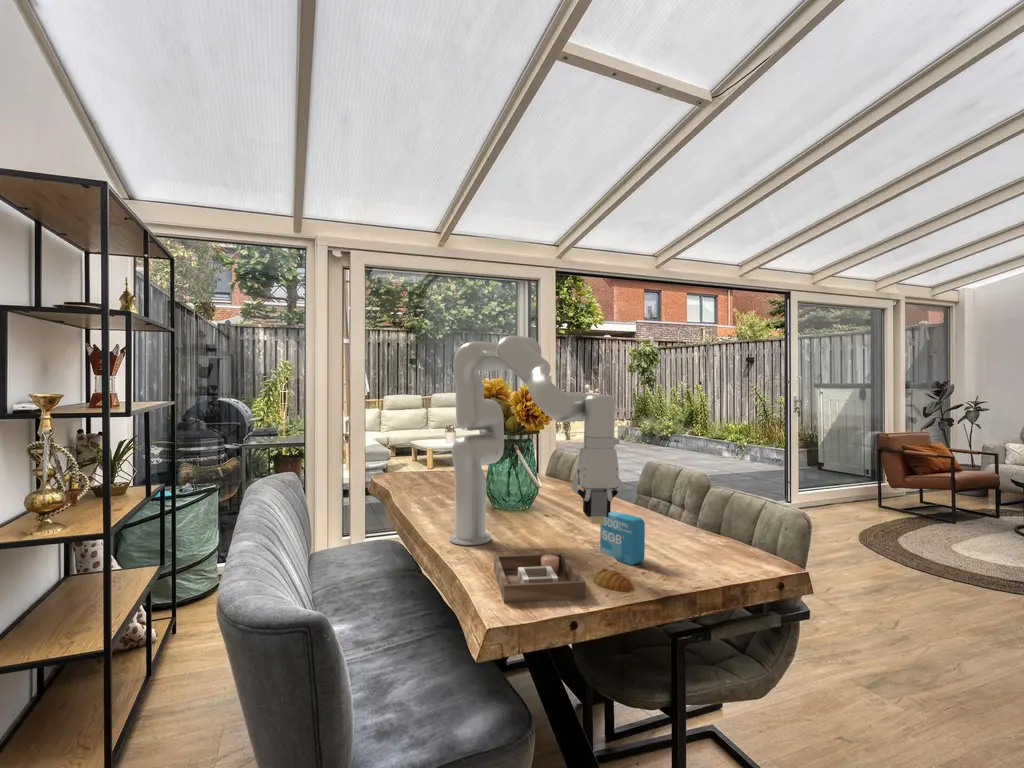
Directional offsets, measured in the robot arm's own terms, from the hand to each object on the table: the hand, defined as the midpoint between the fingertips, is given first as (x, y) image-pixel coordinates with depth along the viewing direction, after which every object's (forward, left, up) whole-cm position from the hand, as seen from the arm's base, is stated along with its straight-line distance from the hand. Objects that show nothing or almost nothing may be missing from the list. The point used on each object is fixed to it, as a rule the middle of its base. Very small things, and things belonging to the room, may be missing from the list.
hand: (596, 514), depth 136 cm
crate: (+7, -17, -15) cm, 23 cm away
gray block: (0, 0, -2) cm, 2 cm away
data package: (-10, +10, -15) cm, 21 cm away
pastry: (+9, +1, -15) cm, 18 cm away
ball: (+1, -12, -14) cm, 19 cm away
